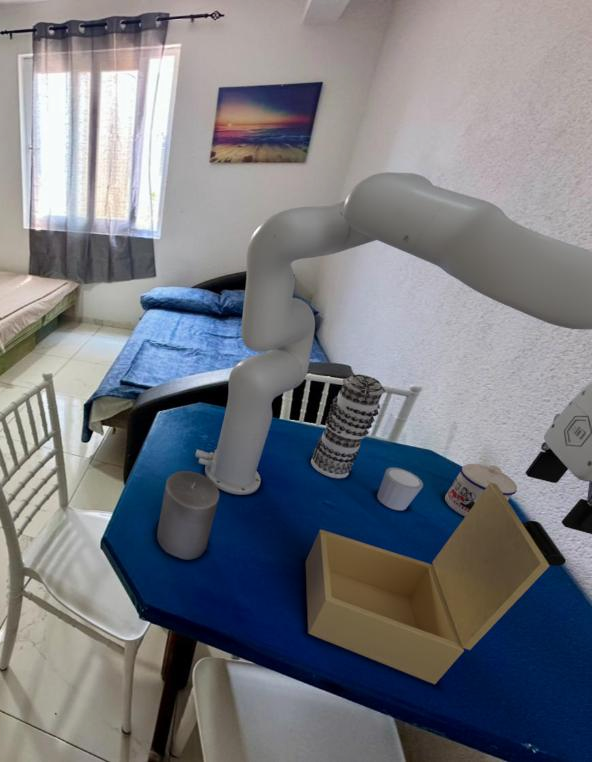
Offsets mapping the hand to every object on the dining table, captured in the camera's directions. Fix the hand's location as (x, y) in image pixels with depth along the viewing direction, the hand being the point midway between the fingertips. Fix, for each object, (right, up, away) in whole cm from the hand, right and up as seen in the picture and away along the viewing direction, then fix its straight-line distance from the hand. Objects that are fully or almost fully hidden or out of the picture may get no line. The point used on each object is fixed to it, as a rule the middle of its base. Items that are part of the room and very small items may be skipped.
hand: (558, 502), depth 52 cm
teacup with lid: (+26, -14, +38) cm, 48 cm away
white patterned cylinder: (+2, -6, +50) cm, 51 cm away
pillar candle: (-41, -16, +29) cm, 53 cm away
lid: (-6, -10, +5) cm, 12 cm away
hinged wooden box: (-14, -24, +16) cm, 32 cm away
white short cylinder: (+10, -12, +40) cm, 43 cm away
